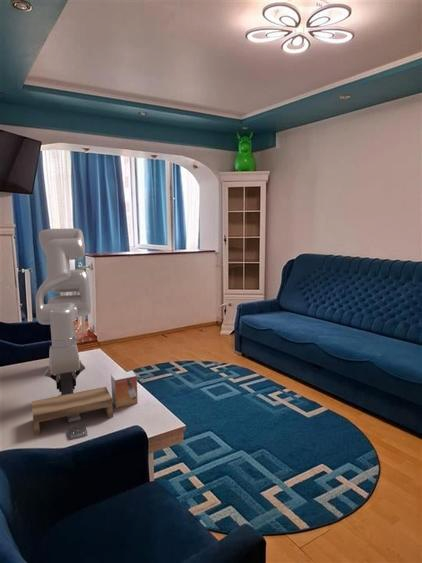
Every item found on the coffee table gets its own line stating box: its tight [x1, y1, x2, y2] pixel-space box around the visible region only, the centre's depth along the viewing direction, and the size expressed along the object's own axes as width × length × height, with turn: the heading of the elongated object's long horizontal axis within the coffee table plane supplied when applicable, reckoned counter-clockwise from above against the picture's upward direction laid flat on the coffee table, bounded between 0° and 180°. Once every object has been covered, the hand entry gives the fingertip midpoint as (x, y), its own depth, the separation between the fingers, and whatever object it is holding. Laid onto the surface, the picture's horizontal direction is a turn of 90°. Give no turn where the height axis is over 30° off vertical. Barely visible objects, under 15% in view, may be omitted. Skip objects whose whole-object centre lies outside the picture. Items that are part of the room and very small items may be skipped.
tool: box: [60, 372, 81, 423], centre depth 137 cm, size 22×4×10 cm, turn 26°
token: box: [67, 423, 88, 440], centre depth 122 cm, size 5×5×2 cm
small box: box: [110, 370, 138, 409], centre depth 140 cm, size 8×6×10 cm
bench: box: [31, 386, 114, 436], centre depth 130 cm, size 10×24×6 cm, turn 116°
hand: (66, 388), depth 145 cm, fingers closed on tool, 4 cm apart
